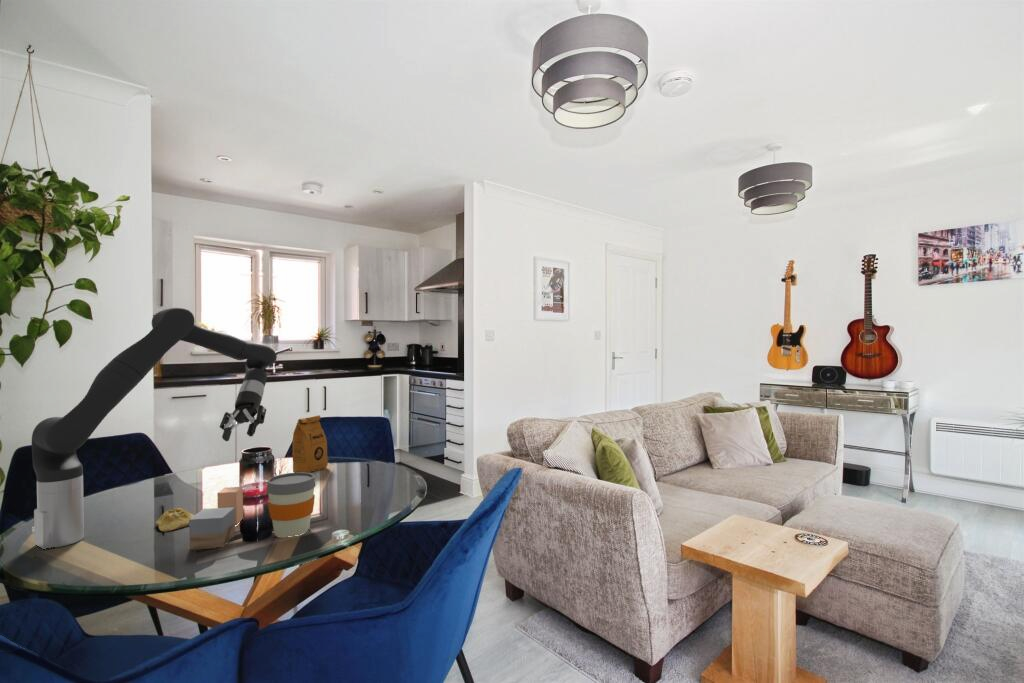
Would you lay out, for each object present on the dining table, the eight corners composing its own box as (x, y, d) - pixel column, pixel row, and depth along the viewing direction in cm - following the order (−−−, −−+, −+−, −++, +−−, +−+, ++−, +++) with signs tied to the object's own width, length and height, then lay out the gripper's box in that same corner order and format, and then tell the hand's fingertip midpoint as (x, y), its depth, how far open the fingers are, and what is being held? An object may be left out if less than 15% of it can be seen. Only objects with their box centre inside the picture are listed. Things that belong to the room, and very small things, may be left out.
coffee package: (331, 468, 208) (330, 415, 208) (306, 476, 197) (305, 419, 197) (314, 465, 213) (314, 413, 213) (289, 473, 202) (288, 418, 202)
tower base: (223, 548, 131) (223, 532, 131) (189, 550, 129) (189, 535, 129) (235, 536, 139) (234, 521, 139) (203, 538, 137) (203, 523, 137)
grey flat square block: (222, 533, 131) (222, 517, 130) (189, 535, 129) (189, 519, 129) (235, 521, 138) (234, 507, 138) (203, 523, 137) (203, 508, 137)
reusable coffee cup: (268, 527, 144) (268, 474, 144) (315, 520, 149) (315, 470, 149) (265, 543, 133) (264, 487, 133) (316, 536, 137) (315, 481, 137)
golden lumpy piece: (192, 506, 145) (150, 511, 141) (192, 528, 144) (150, 534, 140) (199, 504, 155) (160, 509, 151) (199, 524, 154) (159, 530, 150)
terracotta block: (236, 526, 145) (236, 491, 145) (217, 527, 144) (217, 492, 144) (243, 520, 150) (242, 486, 150) (224, 521, 149) (224, 487, 149)
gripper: (224, 394, 171) (209, 436, 161) (263, 386, 170) (250, 427, 159) (238, 405, 177) (224, 447, 166) (275, 398, 175) (264, 439, 165)
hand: (237, 437), depth 163 cm, fingers open, 8 cm apart
